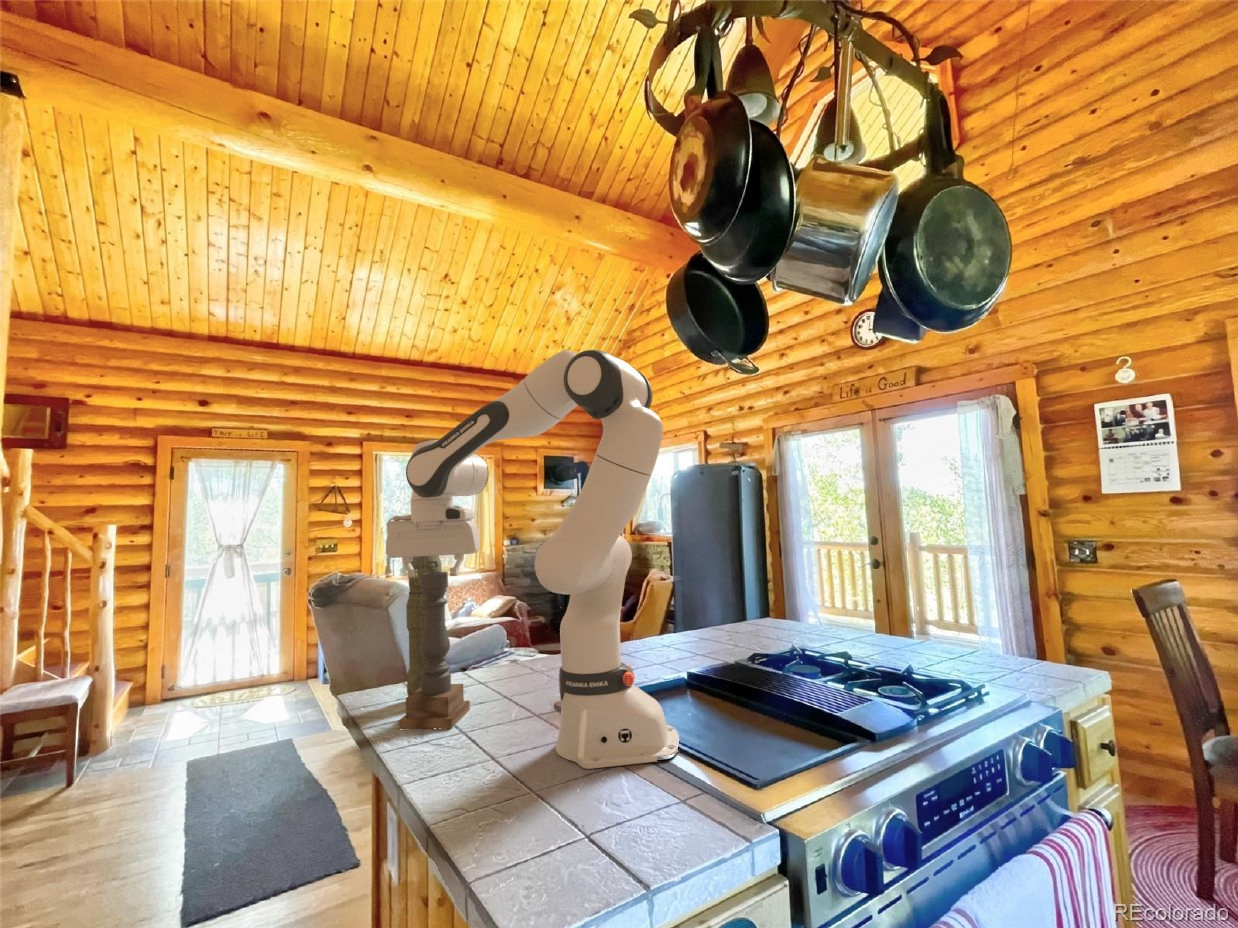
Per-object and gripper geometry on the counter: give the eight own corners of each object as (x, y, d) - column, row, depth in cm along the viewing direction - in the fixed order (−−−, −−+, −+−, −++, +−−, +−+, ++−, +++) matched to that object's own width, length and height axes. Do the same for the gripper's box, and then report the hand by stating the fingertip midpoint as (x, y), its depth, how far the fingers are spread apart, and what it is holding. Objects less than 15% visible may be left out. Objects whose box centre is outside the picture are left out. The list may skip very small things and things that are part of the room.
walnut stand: (469, 709, 123) (469, 682, 123) (451, 728, 112) (451, 698, 113) (421, 711, 124) (421, 683, 124) (399, 730, 113) (398, 700, 113)
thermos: (428, 711, 124) (425, 553, 127) (395, 703, 130) (393, 554, 133) (459, 699, 131) (455, 550, 134) (426, 692, 137) (424, 551, 141)
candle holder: (432, 697, 114) (430, 575, 116) (414, 692, 118) (413, 574, 120) (457, 688, 119) (454, 571, 121) (439, 684, 123) (437, 571, 125)
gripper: (379, 516, 119) (380, 580, 118) (471, 511, 118) (473, 576, 117) (393, 516, 126) (394, 577, 124) (481, 511, 124) (483, 573, 123)
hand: (433, 576), depth 121 cm, fingers open, 8 cm apart
